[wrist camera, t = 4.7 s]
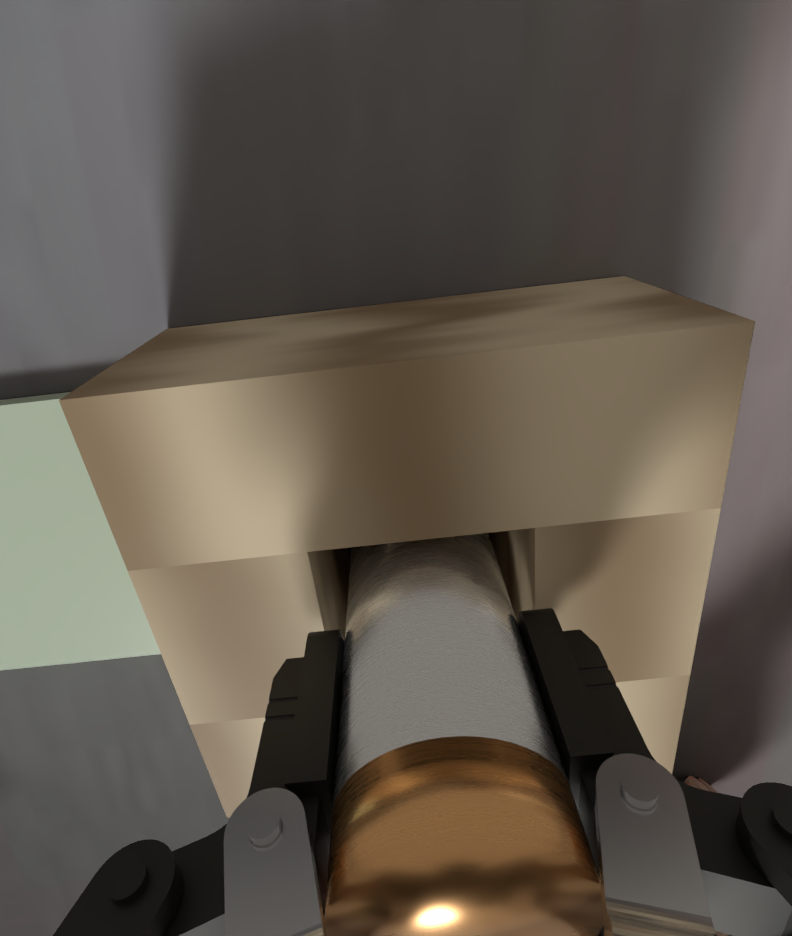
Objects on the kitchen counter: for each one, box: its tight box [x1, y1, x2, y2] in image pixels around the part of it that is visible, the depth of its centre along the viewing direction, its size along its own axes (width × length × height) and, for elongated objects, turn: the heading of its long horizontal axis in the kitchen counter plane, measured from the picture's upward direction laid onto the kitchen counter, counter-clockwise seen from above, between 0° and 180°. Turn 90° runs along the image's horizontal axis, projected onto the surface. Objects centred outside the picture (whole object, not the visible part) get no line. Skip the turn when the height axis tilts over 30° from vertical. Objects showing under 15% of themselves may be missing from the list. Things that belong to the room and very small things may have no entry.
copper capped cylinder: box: [324, 533, 604, 936], centre depth 13 cm, size 4×4×12 cm
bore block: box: [59, 276, 755, 817], centre depth 16 cm, size 13×13×6 cm
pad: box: [0, 392, 161, 670], centre depth 19 cm, size 10×10×1 cm
